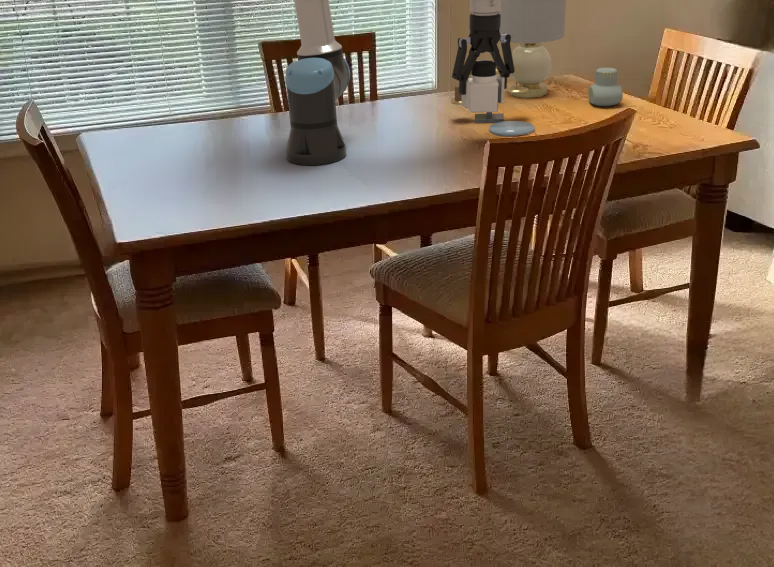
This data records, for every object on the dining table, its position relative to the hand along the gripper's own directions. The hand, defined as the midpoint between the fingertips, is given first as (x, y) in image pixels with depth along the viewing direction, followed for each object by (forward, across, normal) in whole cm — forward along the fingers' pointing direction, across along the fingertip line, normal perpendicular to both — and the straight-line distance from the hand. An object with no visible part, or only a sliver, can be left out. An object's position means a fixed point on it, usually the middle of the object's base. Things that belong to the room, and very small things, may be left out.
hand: (482, 104), depth 218 cm
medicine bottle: (+1, 0, 0) cm, 1 cm away
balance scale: (+10, +12, +16) cm, 22 cm away
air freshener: (+9, +48, +12) cm, 50 cm away
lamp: (+10, +37, +36) cm, 52 cm away
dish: (+9, +12, +4) cm, 16 cm away
